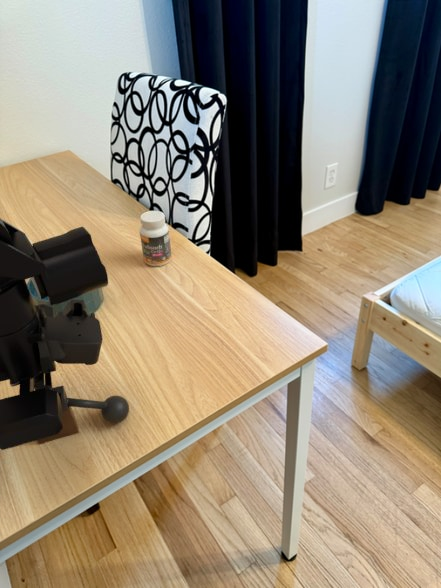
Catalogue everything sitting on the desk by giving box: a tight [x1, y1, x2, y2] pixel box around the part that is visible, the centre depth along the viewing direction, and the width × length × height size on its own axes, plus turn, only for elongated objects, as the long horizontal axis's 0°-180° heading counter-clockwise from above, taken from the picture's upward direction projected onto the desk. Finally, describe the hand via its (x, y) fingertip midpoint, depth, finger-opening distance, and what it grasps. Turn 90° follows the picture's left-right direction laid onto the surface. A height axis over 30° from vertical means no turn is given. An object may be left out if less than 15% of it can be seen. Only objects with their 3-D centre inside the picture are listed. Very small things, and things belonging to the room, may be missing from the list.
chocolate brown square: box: [36, 406, 80, 445], centre depth 54 cm, size 5×1×5 cm, turn 109°
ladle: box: [51, 385, 130, 425], centre depth 54 cm, size 12×4×8 cm, turn 109°
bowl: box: [26, 278, 104, 316], centre depth 76 cm, size 12×12×5 cm
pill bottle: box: [139, 210, 172, 267], centre depth 85 cm, size 6×6×10 cm
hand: (49, 413), depth 53 cm, fingers open, 6 cm apart
